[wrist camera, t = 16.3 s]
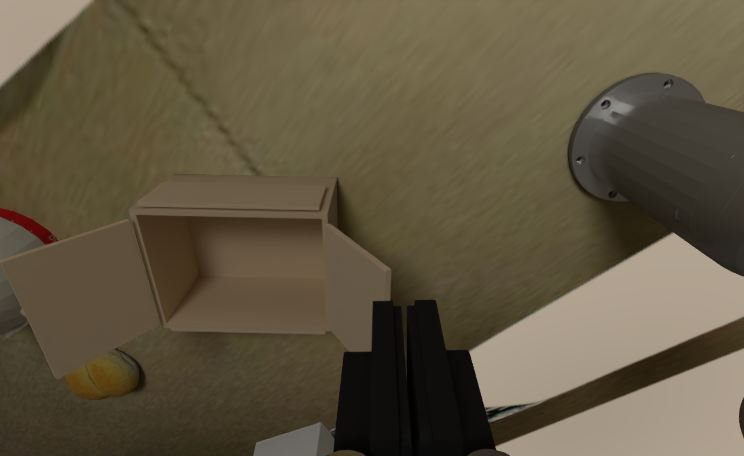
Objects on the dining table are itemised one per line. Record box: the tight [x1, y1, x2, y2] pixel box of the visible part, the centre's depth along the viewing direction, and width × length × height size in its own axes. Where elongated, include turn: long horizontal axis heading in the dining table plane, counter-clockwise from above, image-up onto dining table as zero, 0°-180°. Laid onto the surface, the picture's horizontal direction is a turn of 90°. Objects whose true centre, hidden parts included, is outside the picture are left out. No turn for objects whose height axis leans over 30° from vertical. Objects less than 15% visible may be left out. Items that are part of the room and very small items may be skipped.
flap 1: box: [0, 219, 159, 379], centre depth 34 cm, size 1×11×9 cm
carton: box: [128, 174, 338, 334], centre depth 41 cm, size 17×14×9 cm
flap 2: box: [325, 224, 391, 352], centre depth 34 cm, size 1×11×9 cm
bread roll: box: [65, 349, 139, 400], centre depth 54 cm, size 8×9×4 cm
